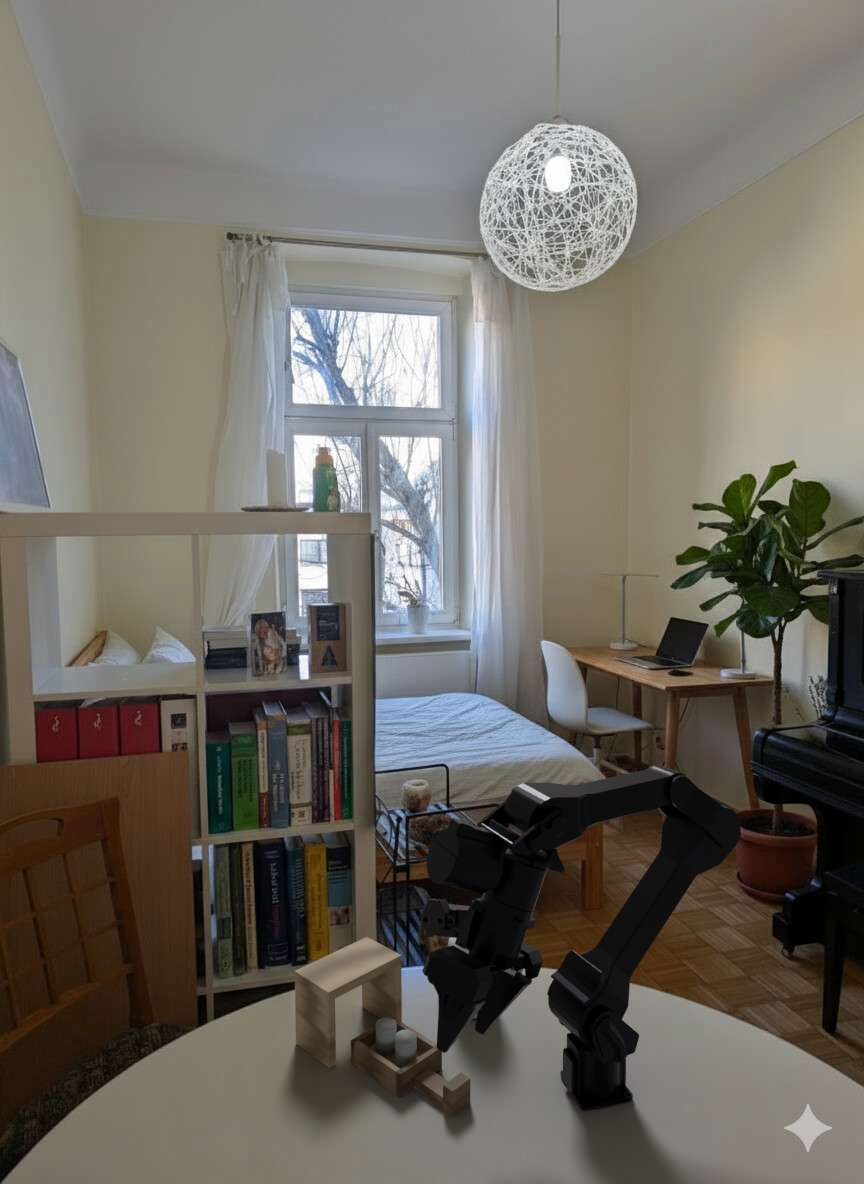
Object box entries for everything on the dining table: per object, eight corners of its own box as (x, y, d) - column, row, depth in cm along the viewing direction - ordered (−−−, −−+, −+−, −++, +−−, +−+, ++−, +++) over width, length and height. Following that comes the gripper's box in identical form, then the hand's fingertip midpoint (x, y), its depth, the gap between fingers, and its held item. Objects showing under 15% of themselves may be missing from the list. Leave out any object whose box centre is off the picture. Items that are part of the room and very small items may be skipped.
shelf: (401, 1025, 107) (401, 955, 106) (329, 1068, 98) (328, 992, 98) (367, 1003, 112) (366, 936, 111) (296, 1043, 103) (294, 970, 103)
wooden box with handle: (481, 1094, 94) (481, 1057, 93) (440, 1126, 89) (440, 1086, 88) (392, 1036, 104) (392, 1003, 104) (351, 1062, 99) (350, 1026, 99)
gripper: (482, 866, 100) (439, 990, 98) (408, 871, 84) (356, 1018, 82) (562, 906, 94) (518, 1038, 92) (499, 919, 78) (444, 1078, 76)
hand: (461, 1041), depth 86 cm, fingers open, 9 cm apart
